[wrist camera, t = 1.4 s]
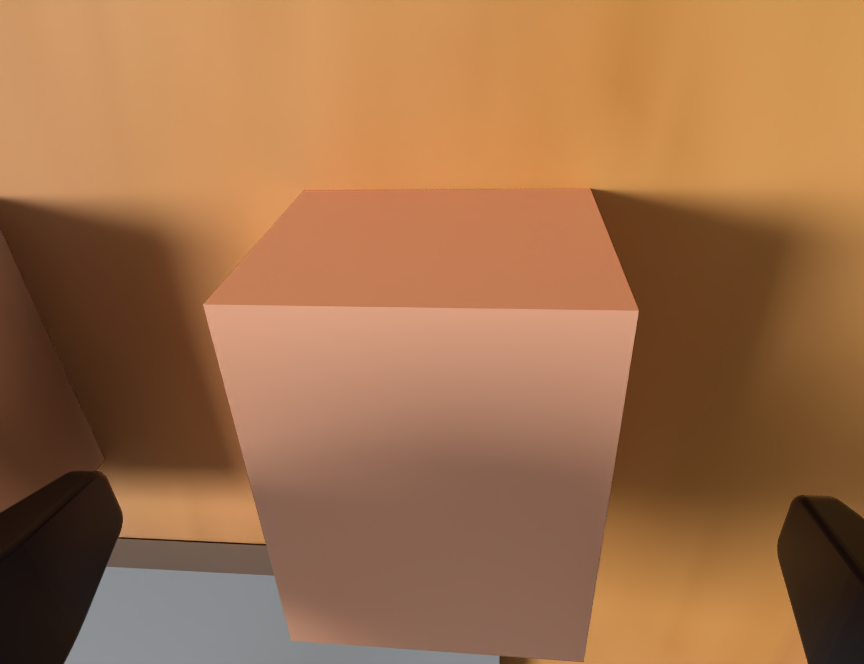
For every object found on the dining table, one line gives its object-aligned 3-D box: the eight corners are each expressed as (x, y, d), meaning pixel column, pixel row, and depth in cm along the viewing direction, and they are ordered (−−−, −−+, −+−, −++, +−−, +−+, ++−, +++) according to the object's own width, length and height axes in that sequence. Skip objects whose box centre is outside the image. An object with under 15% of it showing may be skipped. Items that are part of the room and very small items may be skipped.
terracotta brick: (560, 471, 12) (583, 662, 9) (346, 463, 13) (291, 641, 10) (589, 185, 9) (638, 310, 6) (306, 187, 10) (202, 303, 6)
